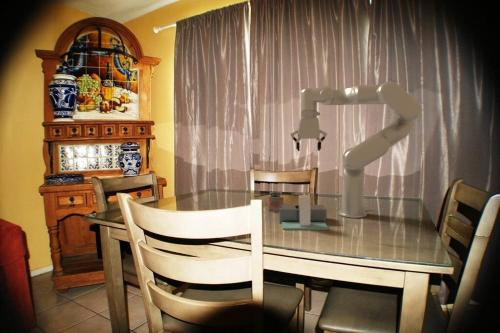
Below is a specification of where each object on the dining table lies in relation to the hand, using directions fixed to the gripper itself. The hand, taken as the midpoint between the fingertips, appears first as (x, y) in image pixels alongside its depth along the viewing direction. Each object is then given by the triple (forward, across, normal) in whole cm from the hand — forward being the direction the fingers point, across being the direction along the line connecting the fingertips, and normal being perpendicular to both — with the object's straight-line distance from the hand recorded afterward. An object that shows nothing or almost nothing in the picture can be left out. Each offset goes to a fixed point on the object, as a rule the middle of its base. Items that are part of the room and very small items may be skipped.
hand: (308, 150), depth 138 cm
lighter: (+31, +16, -1) cm, 34 cm away
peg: (+30, +5, +24) cm, 38 cm away
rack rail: (+30, +5, +14) cm, 34 cm away
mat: (+30, +5, +24) cm, 39 cm away
